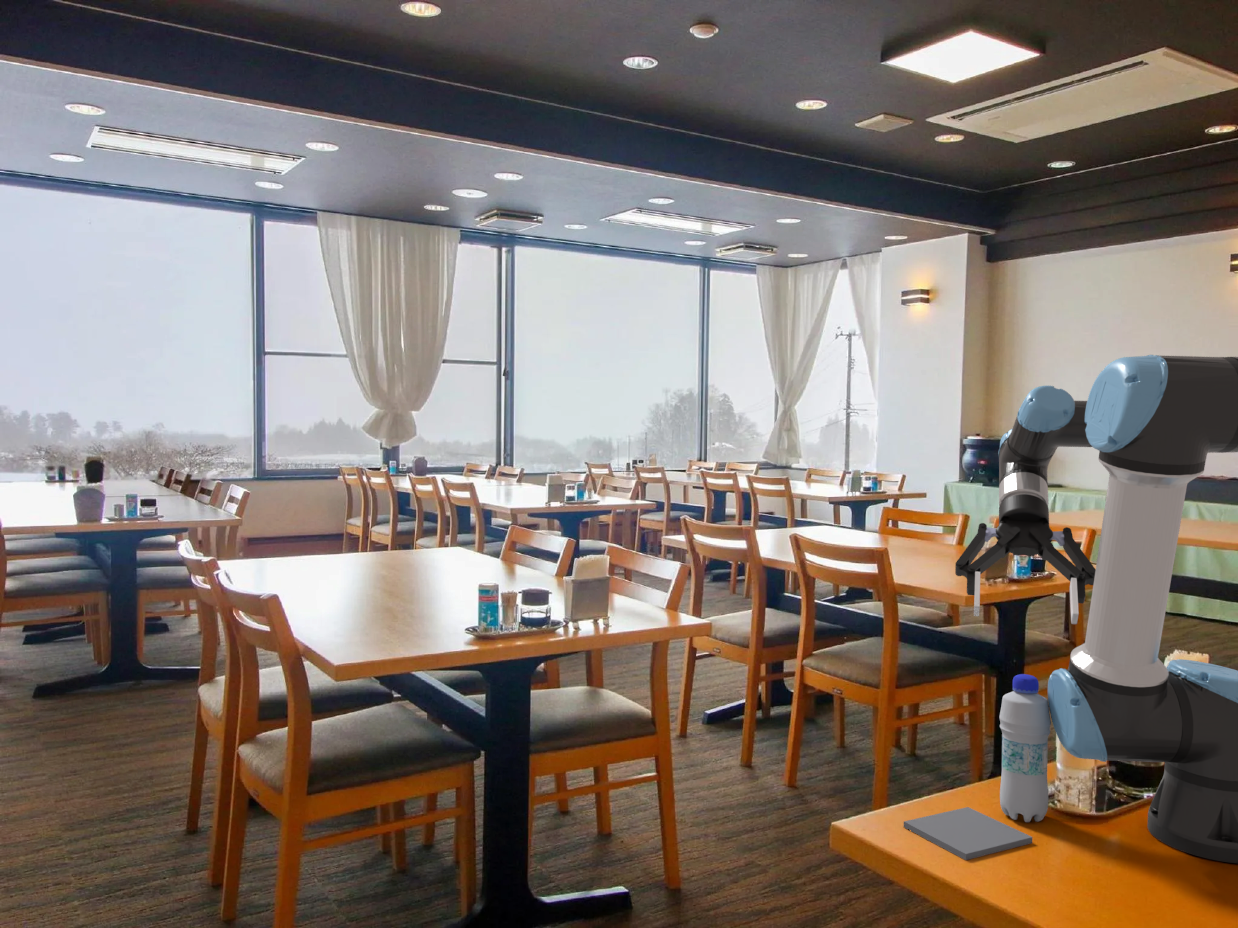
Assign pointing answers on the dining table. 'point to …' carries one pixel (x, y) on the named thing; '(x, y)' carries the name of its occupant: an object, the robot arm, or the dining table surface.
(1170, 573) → the robot arm
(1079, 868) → the dining table surface
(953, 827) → the mat
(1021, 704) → the bottle
